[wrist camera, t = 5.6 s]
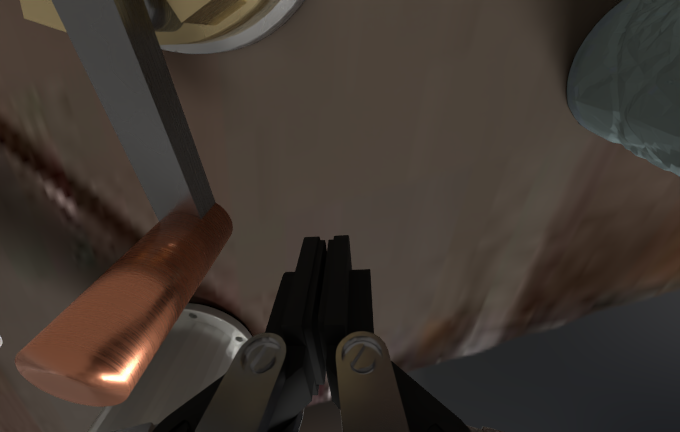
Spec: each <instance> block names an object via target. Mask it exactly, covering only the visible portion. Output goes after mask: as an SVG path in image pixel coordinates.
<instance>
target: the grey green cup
mask: <svg viewBox="0 0 680 432" xmlns="http://www.w3.org/2000/svg"><path fill="white" fill-rule="evenodd" d="M567 101H568V106H569V108H570V110H571V112H572V114H573V115H574V117H575V119H576V120H577V121H578V122H579V124H580V125H582V126H583V127H585V128H586V129H588V130H589V131H591V132H593V133H595V134H597V135H599V136H601V137H603V138H605V139H606V140H608V141H611V142H613V143H621V144H622V145H623V146H624V147H625V149H628V150H630V151H631V152H632V153H633V154H635V155H636V156H639V157H641V158H644V159H647V160H648V161H649V162H650V163H652V164H654V165H656V166H658V167H660V168H662V169H664V170H668V171H671V172H673V173H675V174H676V175H678V176H680V0H622V1H621V2H620V3H619V4H617V5H616V6H615V7H614V8H613V9H611V10H610V11H609V12H608V13H607V14H606V15H605V16H604V17H603V18H602V19H601V20H600V21H599V22H598V23H597V24H596V25H595V26H594V28H593V29H592V30H591V32H590V33H589V34H588V35H587V37H586V38H585V40H584V41H583V43H582V45H581V46H580V48H579V50H578V52H577V54H576V56H575V58H574V60H573V63H572V66H571V69H570V72H569V76H568V81H567Z"/></svg>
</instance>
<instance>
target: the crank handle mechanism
mask: <svg viewBox="0 0 680 432" xmlns="http://www.w3.org/2000/svg"><path fill="white" fill-rule="evenodd" d="M20 2H21V7H22V11H23V16H24V18H25V19H28V20H31V21H34V22H37V23H40V24H43V25H46V26H49V27H52V28H55V29H58V30H61V31H64V32H67V33H68V35H69V37H70V39H71V41H72V44H73V46H74V48H75V50H76V52H77V54H78V56H79V58H80V60H81V62H82V64H83V66H84V68H85V70H86V72H87V74H88V76H89V78H90V80H91V83H92V85H93V87H94V89H95V91H96V93H97V95H98V97H99V99H100V101H101V103H102V105H103V107H104V109H105V111H106V113H107V115H108V117H109V119H110V122H111V124H112V126H113V128H114V130H115V132H116V134H117V136H118V138H119V140H120V142H121V144H122V146H123V148H124V150H125V152H126V154H127V156H128V158H129V161H130V163H131V165H132V167H133V169H134V171H135V173H136V175H137V177H138V179H139V181H140V183H141V185H142V187H143V189H144V191H145V193H146V195H147V197H148V200H149V202H150V204H151V206H152V208H153V210H154V212H155V214H156V216H157V218H158V220H159V222H158V223H157V224H156V225H155V226H154V227H153V228H152V229H151V230H150V231H149V232H148V233H147V234H146V235H144V236H143V237H142V238H141V239H140V240H139V241H138V242H137V243H136V244H135V245H134V246H133V247H132V248H131V249H129V250H128V251H127V252H126V253H125V254H124V255H123V256H122V257H121V258H120V259H119V260H118V261H117V262H115V263H114V264H113V265H112V266H111V267H110V268H109V269H108V270H107V271H106V272H105V273H104V274H103V275H102V276H100V277H99V278H98V279H97V280H96V281H95V282H94V283H93V284H92V285H91V286H90V287H89V288H88V289H86V290H85V291H84V292H83V293H82V294H81V295H80V296H79V297H78V298H77V299H76V300H75V301H74V302H73V303H71V304H70V305H69V306H68V307H67V308H66V309H65V310H64V311H63V312H62V313H61V314H60V315H59V316H57V317H56V318H55V319H54V320H53V321H52V322H51V323H50V324H49V325H48V326H47V327H46V328H45V329H43V330H42V331H41V332H40V333H39V334H38V335H37V336H36V337H35V338H34V339H33V340H32V341H31V342H30V343H28V344H27V345H26V346H25V347H24V348H23V349H22V350H21V351H20V352H19V353H18V354H17V355H16V357H15V365H16V367H17V369H18V371H19V372H20V373H21V374H22V376H23V377H24V378H25V379H27V380H28V381H29V382H30V383H32V384H33V385H35V386H36V387H38V388H39V389H41V390H43V391H45V392H47V393H49V394H51V395H53V396H55V397H58V398H61V399H64V400H67V401H70V402H73V403H78V404H82V405H88V406H100V407H103V406H113V405H117V404H120V403H122V402H124V401H125V400H126V399H127V398H128V396H129V395H130V393H131V392H132V390H133V388H134V387H135V385H136V384H137V382H138V381H139V379H140V377H141V376H142V374H143V373H144V371H145V370H146V368H147V366H148V365H149V363H150V362H151V360H152V359H153V357H154V356H155V354H156V352H157V351H158V349H159V348H160V346H161V345H162V343H163V341H164V340H165V338H166V337H167V335H168V334H169V332H170V330H171V329H172V327H173V326H174V324H175V323H176V321H177V319H178V318H179V316H180V315H181V313H182V312H183V310H184V308H185V307H186V305H187V304H188V302H189V301H190V299H191V297H192V296H193V294H194V293H195V291H196V290H197V288H198V286H199V285H200V283H201V282H202V280H203V279H204V277H205V275H206V274H207V272H208V271H209V269H210V268H211V266H212V264H213V263H214V261H215V260H216V258H217V257H218V255H219V253H220V252H221V250H222V249H223V247H224V246H225V244H226V242H227V241H228V239H229V238H230V236H231V234H232V230H233V226H232V221H231V219H230V217H229V215H228V214H227V212H226V211H225V210H224V209H223V208H222V207H221V206H220V205H218V204H217V203H215V200H214V197H213V194H212V191H211V189H210V186H209V183H208V180H207V177H206V174H205V172H204V169H203V166H202V163H201V160H200V158H199V155H198V152H197V149H196V146H195V143H194V141H193V138H192V135H191V132H190V129H189V127H188V124H187V121H186V118H185V115H184V112H183V110H182V107H181V104H180V101H179V98H178V96H177V93H176V90H175V87H174V84H173V81H172V79H171V76H170V73H169V70H168V67H167V65H166V62H165V59H164V56H163V53H162V50H161V48H160V45H175V44H204V43H209V42H215V41H220V40H224V39H226V38H229V37H232V36H234V35H237V34H239V33H241V32H243V31H244V30H246V29H248V28H250V27H251V26H253V25H255V24H256V23H257V22H259V21H260V20H261V19H262V18H263V17H265V16H266V15H267V14H268V13H270V12H271V10H272V9H273V8H274V7H275V6H276V5H277V4H278V3H279V2H280V0H20Z"/></svg>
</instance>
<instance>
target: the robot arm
mask: <svg viewBox="0 0 680 432" xmlns="http://www.w3.org/2000/svg"><path fill="white" fill-rule="evenodd" d="M326 373H327V378H328V383H329V386H330V391H331V396H332V401H333V402H334V403H335V404H336V405H337V407H338V408H339V409H340V410H341V420H342V431H343V432H503V431H499V430H494V429H491V428H487V427H482V430H481V429H477V428H473V427H470V426H466V425H465V424H464V423H463V422H462V420H461V419H459V418H458V417H457V416H456V415H455V414H453V413H452V412H451V411H450V410H449V409H447V408H446V407H445V406H444V405H443V404H442V403H440V402H439V401H438V400H437V399H436V398H434V397H433V396H432V395H431V394H430V393H429V392H427V391H426V390H425V389H424V388H423V387H421V386H420V385H419V384H418V383H417V382H416V381H414V380H413V379H412V378H411V377H409V375H407V374H406V373H405V372H404V371H403V370H401V369H400V368H399V367H398V366H397V365H396V364H394V363H393V362H392V361H391V360H390V356H389V352H388V349H387V347H386V345H385V343H384V342H383V340H382V339H381V338H380V337H378V336H377V335H375V334H374V328H373V310H372V293H371V275H370V269H366V270H352V265H351V253H350V242H349V235H343V236H334V240H329V242H328V249H327V250H326V243H325V240H320V237H305V238H304V240H303V244H302V248H301V252H300V256H299V259H298V263H297V267H296V271H295V272H285V273H284V274H283V277H282V280H281V283H280V286H279V290H278V293H277V296H276V299H275V302H274V306H273V309H272V312H271V315H270V318H269V322H268V325H267V328H266V331H265V333H261V334H258V335H255V336H253V337H252V336H251V334H250V333H249V331H248V330H247V329H246V328H245V327H244V326H243V325H242V324H241V323H240V322H239V321H237V320H236V319H235V318H233V317H232V316H230V315H228V314H226V313H224V312H222V311H220V310H217V309H215V308H212V307H208V306H204V305H200V304H193V303H188V304H187V305H186V307H185V308H184V310H183V312H182V313H181V315H180V316H179V318H178V319H177V321H176V323H175V324H174V326H173V327H172V329H171V330H170V332H169V334H168V335H167V337H166V338H165V340H164V341H163V343H162V345H161V346H160V348H159V349H158V351H157V352H156V354H155V356H154V357H153V359H152V360H151V362H150V363H149V365H148V366H147V368H146V370H145V371H144V373H143V374H142V376H141V377H140V379H139V381H138V382H137V384H136V385H135V387H134V388H133V390H132V392H131V393H130V395H129V396H128V398H127V399H126V400H125V401H124V402H122V403H120V404H117V405H113V406H104V408H103V409H102V411H101V412H100V413H99V415H98V416H97V418H96V419H95V421H94V422H93V424H92V425H91V427H90V428H89V430H88V431H87V432H299V429H300V425H301V421H302V418H303V412H304V407H306V406H307V405H308V404H309V403H310V402H311V401H312V395H318V389H319V385H324V383H325V376H326Z"/></svg>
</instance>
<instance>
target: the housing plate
mask: <svg viewBox="0 0 680 432" xmlns="http://www.w3.org/2000/svg"><path fill="white" fill-rule="evenodd" d="M304 1H305V0H280V2H279V3H278V4H277V5H276V6H275V7H274V8H273V9H272V10H271V12H270V13H268V14H267V15H266V16H265V17H263V18H262V19H261V20H260V21H259V22H257V23H256V24H255V25H253V26H251V27H250V28H248V29H246V30H244V31H243V32H241V33H239V34H237V35H234V36H232V37H229V38H226V39H224V40H220V41H215V42H209V43H204V44H175V45H160V48H161V49H163V50H167V51H171V52H179V53H187V54H209V53H219V52H226V51H231V50H237V49H241V48H244V47H246V46H249V45H252V44H255V43H257V42H259V41H260V40H262V39H264V38H266V37H268V36H269V35H271V34H272V33H274V32H275V31H276V30H277V29H279V28H280V27H281V26H283V25H284V24H285V23H286V22H287V21H288V20H289V19H290V18H291V17H292V16H293V15H294V14H295V13H296V11H297V10H298V9H299V8H300V7H301V5H302V4H303V2H304Z"/></svg>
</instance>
